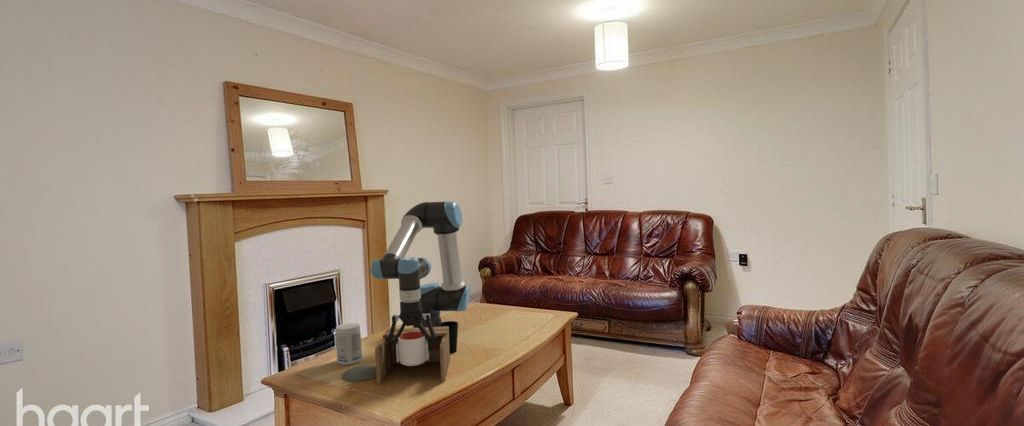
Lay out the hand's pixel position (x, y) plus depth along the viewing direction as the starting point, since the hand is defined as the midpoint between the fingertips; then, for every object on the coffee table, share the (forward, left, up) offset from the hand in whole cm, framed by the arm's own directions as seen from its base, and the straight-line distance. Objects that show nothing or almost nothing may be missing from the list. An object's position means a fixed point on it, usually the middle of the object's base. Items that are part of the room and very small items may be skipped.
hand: (413, 359), depth 180 cm
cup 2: (-27, +11, -6) cm, 29 cm away
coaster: (-5, -20, -6) cm, 21 cm away
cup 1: (0, 0, -1) cm, 1 cm away
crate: (-5, 0, -6) cm, 8 cm away
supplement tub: (-20, -29, -6) cm, 36 cm away
